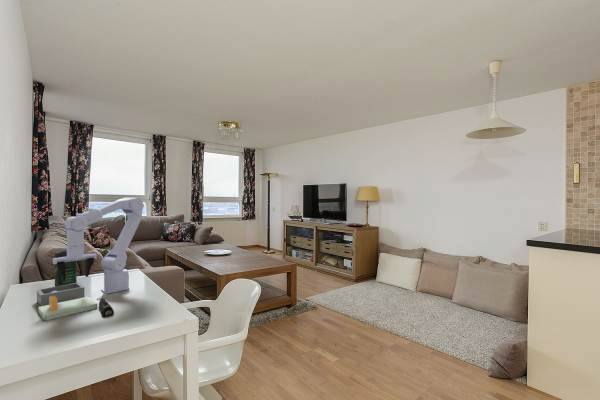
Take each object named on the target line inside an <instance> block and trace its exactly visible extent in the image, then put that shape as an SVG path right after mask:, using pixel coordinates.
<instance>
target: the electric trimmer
mask: <svg viewBox="0 0 600 400" xmlns="http://www.w3.org/2000/svg"><path fill="white" fill-rule="evenodd" d="M98 309H99V311H102V312H101V316H102V317H103V318H108V317H112V316H114V315H115V311H114V310H115V309H113V307H112V305H110V303H108V301H107V300H106V299H105V298H102V297H101V298H100V300H99V302H98Z"/></svg>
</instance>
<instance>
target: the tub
mask: <svg viewBox="0 0 600 400" xmlns="http://www.w3.org/2000/svg"><path fill="white" fill-rule="evenodd" d="M51 296H55V297H56V298H57V303H60V302H65V301H70V300H74V299H79V298H84V297H85V286H84V285H82V284H81V283H80V282H77V283H72V284H67V285H61V286H55V285H54V286H50V287H44V288H40V289H39V288H38V289H36V303H37V305H38V307H41V306H46V305H49V297H51Z"/></svg>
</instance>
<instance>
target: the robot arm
mask: <svg viewBox="0 0 600 400" xmlns="http://www.w3.org/2000/svg"><path fill="white" fill-rule="evenodd" d="M144 204H145V203H143V200H142V199H141V198H139V197H128V196H127V197H125V196H124V197H122V198H120V199H119V198H118V199H117V200H115V201H113V202H111V203H108V204H106V205H104V206H102V207H100V208H96V207H90V208H87V210H85V211H84V212H81V213H77V214H76V216H69V217H67V218H66V219H65V221H64V223H63V227H64V229H65V230H66V248H67V256H65V257H60V258H55V257H54V258H52V264H53V265H55V264H56V265H57V267H58V268H59V270H60V272H61V275H62V280H63V281H65V280H66V275H65V269H66V265H65V263H64V262H70V261H83V260H84V265H85V266H84V268H85V269H84V270H85V271H84V277H86V278H88V277H90V276H89V275H90V272H91V268H92V266H93V264H94V263H95V259H98V254H97V253H85V229H87V227H88V226H90V225H93V224H94V223H97V222H99V221H101V220H102V219H103V216H105V215H107V214H110V213H112V212H115V211H118V210H120V209H121V210H122V212H123V213H124V214H125V215H126V216H127V217H126V218H127V220H126V221H125V224H124V226H123V228H122V230H121V232H120V233H119V236H118V238H117V240H116V241H115V243H114V246H113V248H111V250H109V251H108V252H107V254H106V255H104V257H103V258H102V259H101V261H100V266H101V268H102V269H103V284H104V285H103V288H100V289H101V292H103V293H104V294H105V295H108V294H112V293H116V292H121V291H127V290H130V284H129V283H130V274H129V270H128V269H126V268H125V267H126V265H127V259H128V255H127V253H126V252H127V250H128V248H129V246H130V244H131V242H132V239H133V237H134V235H135V233H136V232H137V229H138V227H139V224H140V222H141V221H142V218H143V209H144V208H145V205H144ZM73 259H75V260H73Z"/></svg>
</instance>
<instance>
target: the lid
mask: <svg viewBox="0 0 600 400" xmlns="http://www.w3.org/2000/svg"><path fill="white" fill-rule="evenodd" d="M37 309H38V310H37V312H38V313H39V315H40V316H41V318H42V320H44V321H45V322H46V321H49V320H52V319H58V318H61V317H66V316H69V315H75V314H77V313H78V314H79V313H82V312H87V311H89V310H90V311H91V310H93V309H94V310H95V309H98V302H97V301H95V300H93V298H91V297H90V296H84V298H79V299H74V300H70V301H65V302H60V303H57V298H56V297H55V296H51V297H49V305H46V306H41V307H40V306H38V308H37Z"/></svg>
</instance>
